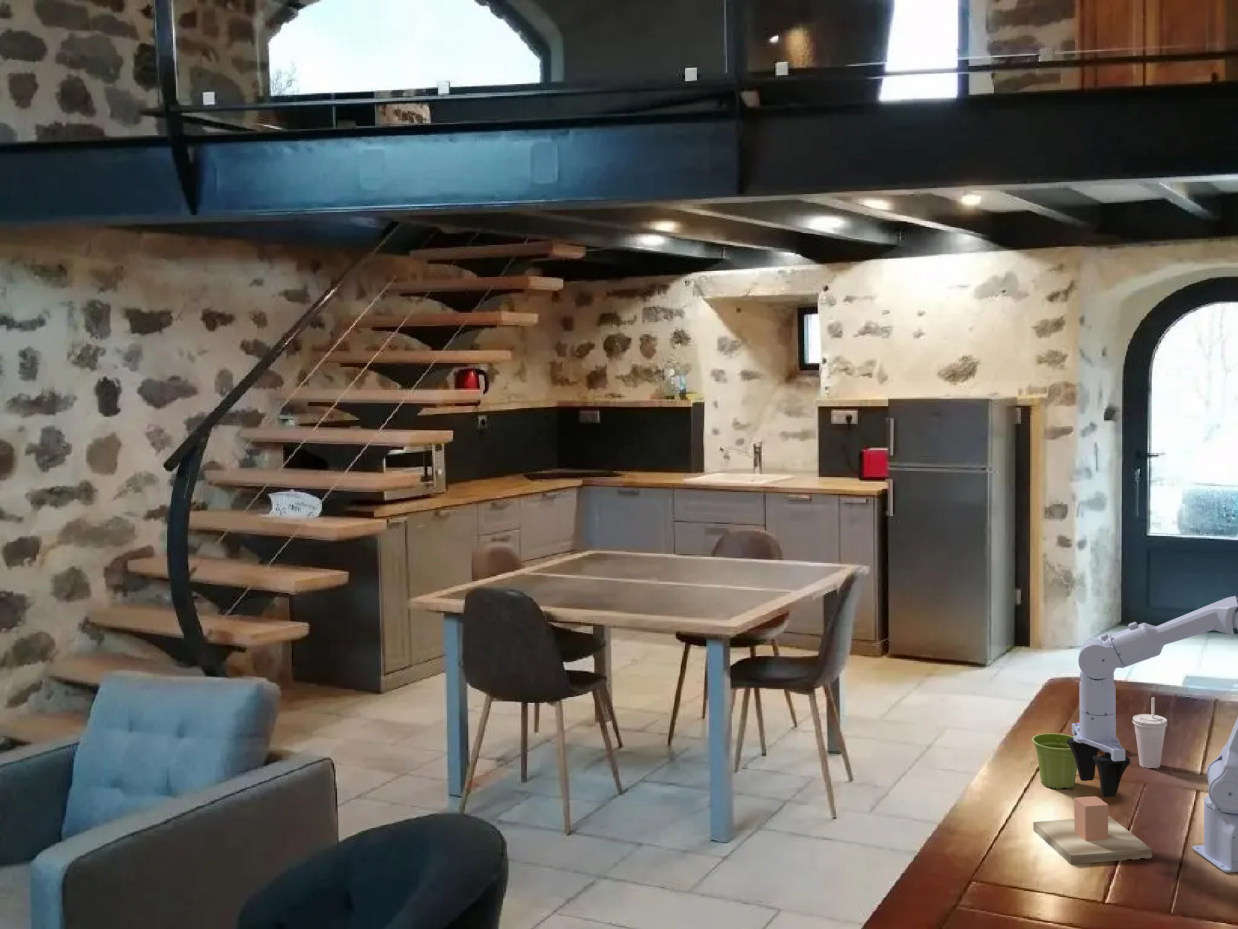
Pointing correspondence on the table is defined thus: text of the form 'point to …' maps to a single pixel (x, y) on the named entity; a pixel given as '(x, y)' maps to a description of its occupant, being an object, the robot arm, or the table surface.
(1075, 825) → the block
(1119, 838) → the board
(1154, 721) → the smoothie
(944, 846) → the table surface
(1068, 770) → the plant pot
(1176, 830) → the table surface
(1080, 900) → the table surface
